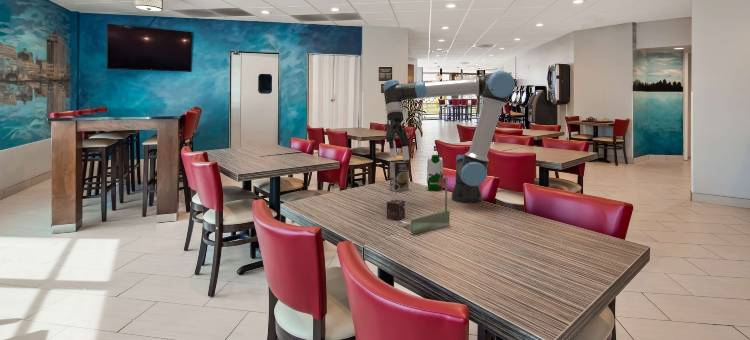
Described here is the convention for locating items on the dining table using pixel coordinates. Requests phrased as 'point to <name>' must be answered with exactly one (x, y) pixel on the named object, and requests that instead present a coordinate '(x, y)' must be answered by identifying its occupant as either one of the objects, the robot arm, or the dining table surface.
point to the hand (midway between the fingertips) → (400, 158)
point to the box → (396, 209)
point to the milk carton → (434, 172)
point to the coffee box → (399, 176)
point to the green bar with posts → (429, 217)
